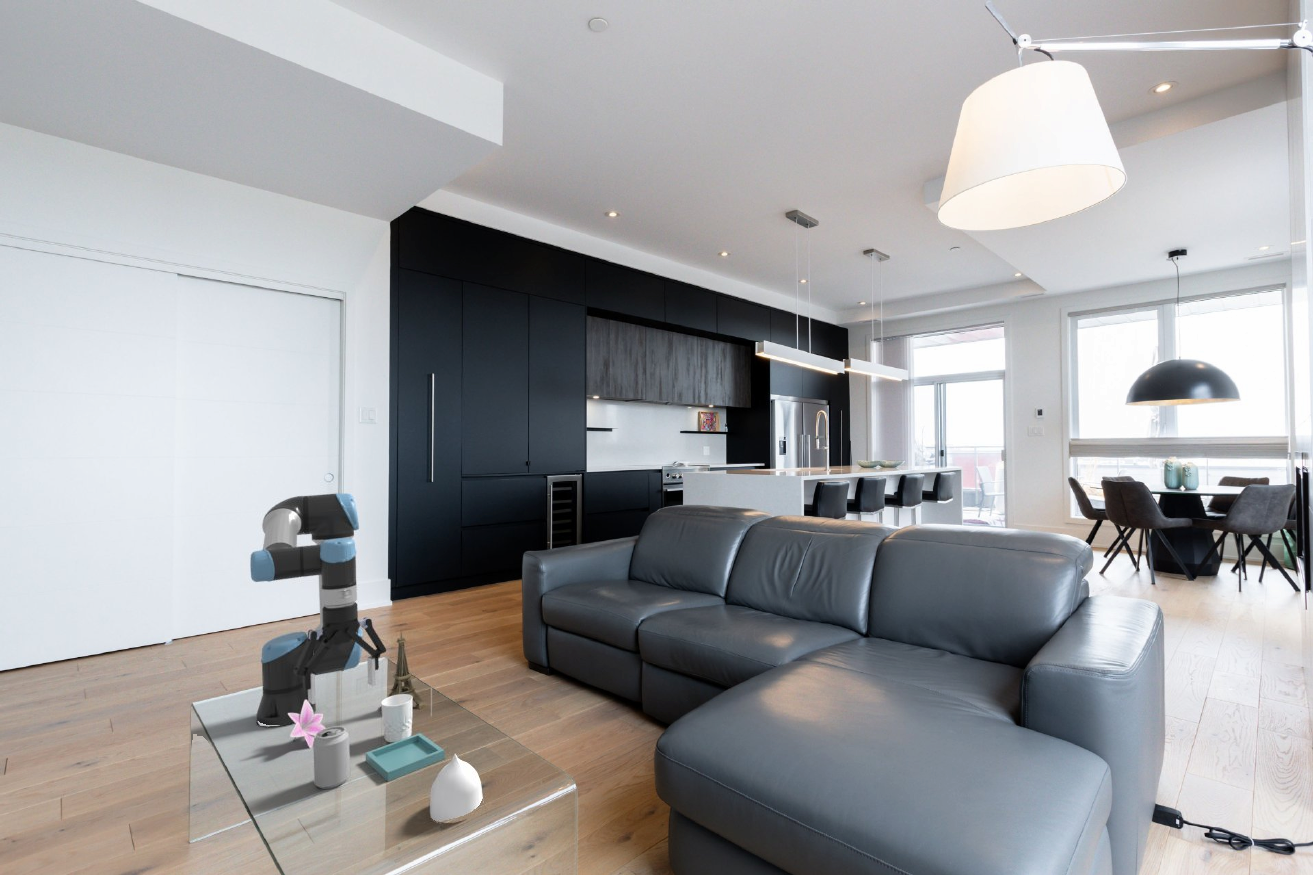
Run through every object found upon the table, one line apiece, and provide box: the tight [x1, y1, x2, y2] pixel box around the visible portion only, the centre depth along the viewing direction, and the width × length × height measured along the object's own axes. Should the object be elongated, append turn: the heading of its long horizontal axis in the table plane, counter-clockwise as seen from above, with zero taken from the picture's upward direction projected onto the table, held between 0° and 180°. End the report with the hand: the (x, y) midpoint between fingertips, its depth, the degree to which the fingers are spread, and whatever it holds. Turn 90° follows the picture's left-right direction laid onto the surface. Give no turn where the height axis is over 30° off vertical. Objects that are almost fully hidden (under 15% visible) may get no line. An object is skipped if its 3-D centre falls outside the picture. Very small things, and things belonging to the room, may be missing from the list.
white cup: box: [380, 694, 414, 743], centre depth 170 cm, size 8×8×10 cm
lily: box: [288, 700, 326, 749], centre depth 169 cm, size 12×12×10 cm
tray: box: [365, 732, 445, 782], centre depth 157 cm, size 14×14×2 cm
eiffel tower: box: [378, 631, 429, 711], centre depth 189 cm, size 11×11×25 cm
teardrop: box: [429, 753, 484, 822], centre depth 135 cm, size 11×11×12 cm
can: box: [312, 725, 351, 790], centre depth 148 cm, size 8×8×12 cm
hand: (342, 693), depth 150 cm, fingers open, 13 cm apart
